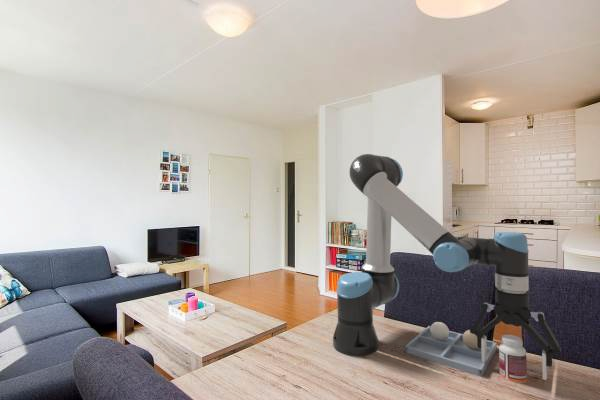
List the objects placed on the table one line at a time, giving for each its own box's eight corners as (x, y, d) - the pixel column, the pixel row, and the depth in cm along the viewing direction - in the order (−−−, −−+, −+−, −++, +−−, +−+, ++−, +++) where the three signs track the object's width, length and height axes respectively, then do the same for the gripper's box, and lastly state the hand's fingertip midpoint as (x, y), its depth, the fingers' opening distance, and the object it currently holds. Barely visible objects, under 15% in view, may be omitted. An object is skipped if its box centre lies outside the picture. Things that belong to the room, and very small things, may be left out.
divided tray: (404, 354, 99) (404, 346, 99) (428, 332, 115) (428, 325, 115) (481, 379, 85) (481, 369, 85) (496, 350, 101) (496, 342, 101)
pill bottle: (531, 380, 84) (530, 339, 84) (520, 388, 81) (520, 345, 81) (505, 370, 89) (505, 331, 89) (495, 377, 86) (494, 336, 86)
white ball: (427, 340, 107) (427, 322, 107) (433, 334, 112) (433, 317, 112) (446, 345, 103) (445, 327, 103) (451, 339, 108) (451, 322, 108)
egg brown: (460, 349, 100) (460, 330, 100) (465, 343, 105) (465, 325, 105) (481, 355, 96) (481, 336, 96) (486, 348, 101) (485, 329, 101)
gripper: (457, 285, 91) (458, 358, 90) (572, 302, 74) (574, 392, 74) (464, 280, 96) (465, 349, 96) (572, 295, 80) (574, 379, 80)
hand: (512, 368), depth 85 cm, fingers open, 13 cm apart
